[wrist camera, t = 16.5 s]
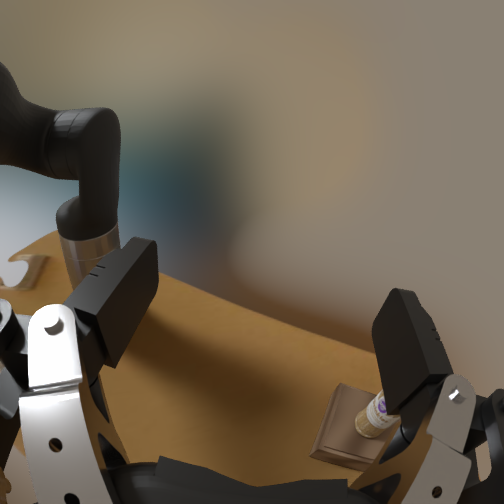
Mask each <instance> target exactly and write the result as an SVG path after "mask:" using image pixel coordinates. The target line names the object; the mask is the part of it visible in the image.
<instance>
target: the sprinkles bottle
mask: <svg viewBox="0 0 504 504" xmlns="http://www.w3.org/2000/svg"><path fill="white" fill-rule="evenodd" d="M399 419H400V415H387V412H386V405H385V399H384V393H383V390H382V391H381V392H380V393H379V394H378V395H377V396H376V397H375V398H374V399H373V400H372V401H371V402H370V403H369V405H368V406H367V407H366V408H365V409H364V410H362V411H361V412H359V413H358V415H357V416H356V419H355V428H356V430H357V432H358V433H359V434H360V435H362V436H364V437H367V438H374V437H377V436H379V435H380V434H381V433H382V432H383V431H384V430H385V429H387V428H388V427H390V426H391V425H393V424H394V423H395V422H396V421H398V420H399Z"/></svg>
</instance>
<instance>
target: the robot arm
mask: <svg viewBox="0 0 504 504" xmlns="http://www.w3.org/2000/svg"><path fill="white" fill-rule="evenodd" d="M120 143H121V132H120V124H119V120H118V117H117V115H116V114H115V113H114V111H113V110H111V109H109V108H85V109H74V110H63V111H59V110H52V109H48V108H44V107H41V106H38V105H36V104H33V103H31V102H29V101H27V100H25V99H24V98H23V97H22V96H21V94H20V92H19V90H18V88H17V85H16V83H15V81H14V79H13V77H12V76H11V74H10V72H9V71H8V69H7V68H6V67H5V66H4V65H3V64H2V63H1V62H0V165H11V166H15V167H19V168H22V169H26V170H29V171H32V172H36V173H38V174H42V175H44V176H47V177H51V178H54V179H65V180H79V196H76V197H74V198H72V199H70V200H68V201H66V202H65V203H64V204H63V205H61V206H60V208H59V209H58V210H57V213H56V223H57V229H58V233H59V238H60V242H61V247H62V251H63V255H64V259H65V263H66V267H67V271H68V274H69V278H70V281H71V285H72V288H73V292H72V293H71V295H70V296H69V297H68V298H67V300H66V301H65V302H64V303H63V304H62V305H60V304H53V305H48V306H46V307H44V308H42V309H40V310H39V311H38V312H37V313H36V314H35V315H34V316H27V315H18V314H15V313H14V311H13V309H12V307H11V305H10V303H9V302H8V301H6V300H4V299H0V361H1V363H2V364H3V365H4V368H3V369H2V371H1V373H0V504H7V500H6V494H8V493H10V492H11V484H10V482H9V480H8V479H7V478H5V475H4V472H3V471H4V468H5V465H6V462H7V459H8V457H9V454H10V451H11V448H12V446H13V443H14V441H15V438H16V436H17V433H18V431H19V428H20V426H21V428H22V435H23V442H24V448H25V453H26V458H27V463H28V468H29V472H30V476H31V480H32V483H33V488H34V491H35V494H36V497H37V501H38V502H37V503H34V504H504V390H503V389H497V390H496V391H494V393H492V394H491V395H490V396H489V397H488V398H485V397H482V396H479V395H476V394H475V391H474V388H473V386H472V385H471V383H470V382H469V381H468V380H467V379H466V378H464V377H463V376H461V375H457V374H454V373H453V370H452V367H451V365H450V362H449V359H448V357H447V354H446V352H445V349H444V346H443V344H442V342H441V341H440V336H439V334H438V332H436V327H435V325H434V323H433V321H432V318H431V317H430V316H429V314H428V313H427V312H426V311H425V310H424V308H423V307H421V304H420V302H419V300H418V298H417V296H416V294H415V292H413V291H409V290H403V289H398V288H394V289H392V290H391V291H390V293H389V295H388V297H387V299H386V300H385V302H384V304H383V306H382V308H381V309H380V311H379V313H378V315H377V316H376V318H375V320H374V322H373V326H372V339H373V344H374V348H375V353H376V357H377V362H378V367H379V372H380V377H381V382H382V388H383V393H384V399H385V405H386V412H387V415H400V418H401V420H400V421H398V422H397V424H396V425H395V427H394V428H393V430H392V432H391V434H390V435H389V437H388V439H387V441H386V442H385V444H384V446H383V447H382V449H381V450H380V452H379V454H378V455H377V457H376V458H375V460H374V461H373V463H372V464H371V466H370V467H369V468H368V469H367V470H366V471H365V472H364V473H362V474H361V475H360V476H359V477H358V478H357V479H356V480H355V481H354V482H353V483H352V484H351V486H350V487H347V479H332V480H300V481H295V482H290V483H284V484H277V485H270V486H262V487H254V486H250V485H247V484H244V483H242V482H239V481H237V480H234V479H231V478H229V477H227V476H224V475H222V474H219V473H217V472H215V471H213V470H210V469H208V468H205V467H201V466H196V465H192V464H188V463H184V462H180V461H177V460H173V459H170V458H166V457H163V456H160V457H159V460H158V463H156V462H139V463H130V461H129V459H128V456H127V454H126V451H125V449H124V446H123V444H122V442H121V440H120V438H119V436H118V434H117V432H116V430H115V427H114V424H113V421H112V418H111V415H110V411H109V408H108V404H107V401H106V397H105V393H104V389H103V385H102V381H101V377H100V374H99V372H100V370H101V368H102V366H103V364H104V365H107V366H109V367H112V368H116V366H117V364H118V362H119V360H120V358H121V356H122V354H123V353H124V351H125V349H126V347H127V345H128V343H129V341H130V339H131V338H132V336H133V334H134V332H135V330H136V328H137V326H138V325H139V323H140V321H141V319H142V317H143V316H144V314H145V312H146V310H147V309H148V307H149V305H150V303H151V302H152V300H153V298H154V296H155V294H156V292H157V288H158V283H159V274H158V255H157V244H156V242H155V241H154V240H148V239H143V238H139V237H133V238H131V239H130V241H129V242H128V243H127V244H126V245H125V246H124V247H123V248H122V249H121V246H120V238H119V229H118V218H117V217H118V216H117V208H118V199H119V162H120V146H121V145H120ZM485 441H488V446H489V452H490V459H491V466H492V469H491V473H490V475H489V476H488V478H487V479H486V480H484V481H482V482H480V480H479V477H478V467H477V460H476V453H475V448H476V447H478V446H479V445H481V444H482V443H484V442H485Z"/></svg>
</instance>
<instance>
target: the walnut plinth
mask: <svg viewBox="0 0 504 504" xmlns="http://www.w3.org/2000/svg"><path fill="white" fill-rule="evenodd" d="M376 396H377V395H375V394H372V393H369V392H366V391H363V390H360V389H357V388H354V387H351V386H348V385H345V384H342V383H340V384H339V385H338V386H337V388H336V389H335V390H334V392H333V393H332V394H331V397H330V400H329V403H328V406H327V409H326V412H325V415H324V418H323V420H322V423H321V426H320V429H319V431H318V434H317V437H316V439H315V442H314V444H313V447H312V449H311V452H310V454H309V456H310V457H313V458H316V459H319V460H322V461H326V462H329V463H332V464H336V465H339V466H343V467H347V468H351V469H355V470H359V471H363V472H365V471H366V470H367V469H368V468H369V467H370V466H371V464H372V463H373V461H374V460H375V458H376V457H377V455H378V454H379V452H380V450H381V449H382V447H383V446H384V444H385V442H386V441H387V439H388V437H389V435H390V434H391V432H392V430H393V428H394V427H395V425H396V424H397V422H398V421H400V420H401V418H400V419H399V420H398V421H396V422H395V423H394V424H393V425H391V426H390V427H388V428H387V429H385V430H384V431H383V432H382V433H381V434H380V435H379V436H377V437H374V438H367V437H364V436H362V435H360V434H359V433H358V432H357V430H356V428H355V419H356V416H357V415H358V413H359V412H361V411H362V410H364V409H365V408H366V407H367V406H368V405H369V403H370V402H371V401H372V400H373V399H374V398H375V397H376Z"/></svg>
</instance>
